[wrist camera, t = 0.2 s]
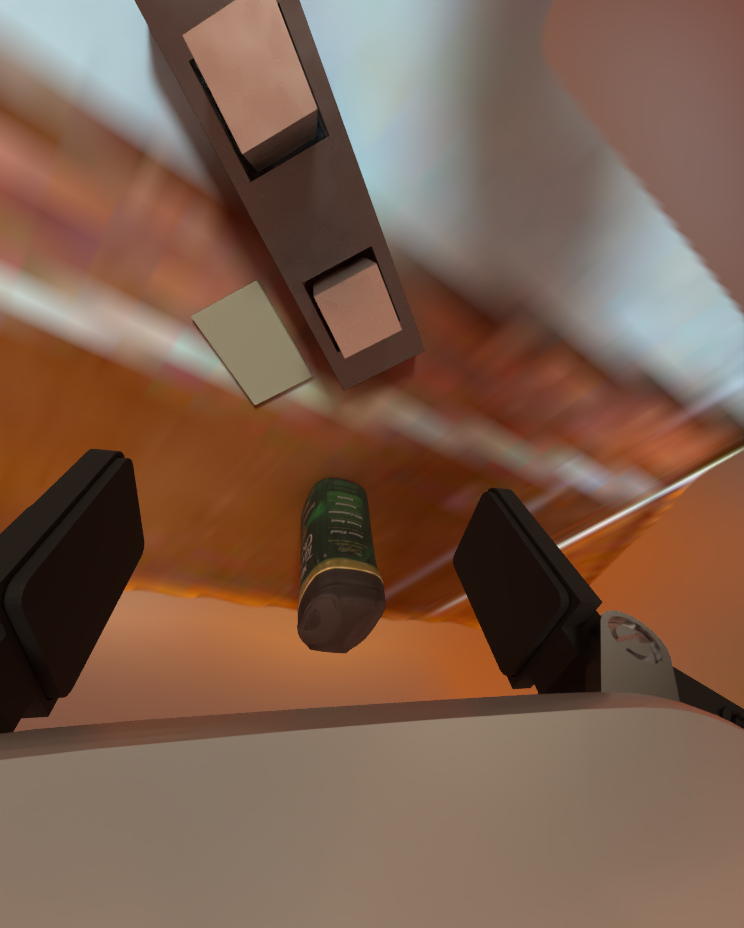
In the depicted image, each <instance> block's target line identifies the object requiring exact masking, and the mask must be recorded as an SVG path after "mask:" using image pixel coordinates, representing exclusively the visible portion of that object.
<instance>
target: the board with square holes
mask: <svg viewBox="0 0 744 928" xmlns="http://www.w3.org/2000/svg"><path fill="white" fill-rule="evenodd" d="M233 1H235V0H135V2H136V4H137V6H138V8H139V9H140V11H141V13H142V15H143V17H144V19H145V21H146V23H147V24H148V26H149V28H150V30H151V32H152V34H153V36H154V37H155V39H156V41H157V43H158V45H159V47H160V49H161V51H162V52H163V54H164V56H165V58H166V60H167V62H168V64H169V65H170V67H171V69H172V71H173V73H174V75H175V77H176V79H177V80H178V82H179V84H180V86H181V88H182V90H183V92H184V93H185V95H186V97H187V99H188V101H189V103H190V105H191V107H192V108H193V110H194V112H195V114H196V116H197V118H198V120H199V121H200V123H201V125H202V127H203V129H204V131H205V133H206V135H207V136H208V138H209V140H210V142H211V144H212V146H213V148H214V149H215V151H216V153H217V155H218V157H219V159H220V161H221V163H222V164H223V166H224V168H225V170H226V172H227V174H228V176H229V177H230V179H231V181H232V183H233V185H234V187H235V189H236V191H237V192H238V194H239V196H240V198H241V200H242V202H243V204H244V205H245V207H246V209H247V211H248V213H249V215H250V217H251V219H252V220H253V222H254V224H255V226H256V228H257V230H258V232H259V233H260V235H261V237H262V239H263V241H264V243H265V245H266V247H267V248H268V250H269V252H270V254H271V256H272V258H273V260H274V261H275V263H276V265H277V267H278V269H279V271H280V273H281V275H282V276H283V278H284V280H285V282H286V284H287V286H288V288H289V289H290V291H291V293H292V295H293V297H294V299H295V301H296V303H297V304H298V306H299V308H300V310H301V312H302V314H303V316H304V317H305V319H306V321H307V323H308V325H309V327H310V329H311V331H312V332H313V334H314V336H315V338H316V340H317V342H318V344H319V345H320V347H321V349H322V351H323V353H324V355H325V357H326V359H327V360H328V362H329V364H330V366H331V368H332V370H333V372H334V373H335V375H336V377H337V379H338V381H339V383H340V385H341V386H342V388H343V390H346V389H348V388H350V387H353V386H355V385H357V384H359V383H361V382H363V381H365V380H367V379H369V378H371V377H373V376H375V375H377V374H379V373H381V372H383V371H385V370H387V369H389V368H391V367H393V366H395V365H397V364H399V363H401V362H403V361H405V360H407V359H409V358H411V357H413V356H416V355H418V354H420V353H422V352H424V351H425V350H424V347H423V344H422V341H421V339H420V336H419V333H418V330H417V327H416V325H415V322H414V319H413V316H412V313H411V311H410V308H409V305H408V302H407V300H406V297H405V294H404V291H403V288H402V286H401V283H400V280H399V277H398V274H397V272H396V269H395V266H394V263H393V260H392V258H391V255H390V252H389V249H388V246H387V244H386V241H385V238H384V235H383V232H382V230H381V227H380V224H379V221H378V219H377V216H376V213H375V210H374V207H373V205H372V202H371V199H370V196H369V193H368V191H367V188H366V185H365V182H364V179H363V177H362V174H361V171H360V168H359V165H358V163H357V160H356V157H355V154H354V152H353V149H352V146H351V143H350V140H349V138H348V135H347V132H346V129H345V126H344V124H343V121H342V118H341V115H340V112H339V110H338V107H337V104H336V101H335V98H334V96H333V93H332V90H331V87H330V84H329V82H328V79H327V76H326V73H325V71H324V68H323V65H322V62H321V59H320V57H319V54H318V51H317V48H316V45H315V43H314V40H313V37H312V34H311V31H310V29H309V26H308V23H307V20H306V17H305V15H304V12H303V9H302V6H301V3H300V1H299V0H276V2H277V4H278V7H279V10H280V12H281V15H282V17H283V20H284V23H285V25H286V28H287V31H288V33H289V36H290V38H291V41H292V44H293V46H294V49H295V51H296V54H297V57H298V59H299V62H300V64H301V67H302V70H303V72H304V75H305V77H306V80H307V83H308V85H309V88H310V90H311V93H312V96H313V98H314V101H315V104H316V106H317V117H318V119H319V122H320V125H321V127H322V130H323V132H324V135H325V137H326V138H325V139H323V140H321V141H320V142H318V143H316V144H315V145H313V146H311V147H310V148H308V149H306V150H304V151H303V152H301V153H299V154H298V155H296V156H294V157H293V158H291V159H289V160H287V161H286V162H284V163H282V164H281V165H279V166H277V167H276V168H274V169H272V170H271V171H269V172H267V173H265V174H264V175H262V176H260V177H259V178H257V179H255V180H254V181H253V180H252V178H251V176H250V174H249V172H248V170H247V168H246V166H245V164H244V163H243V161H242V159H241V157H240V155H239V153H238V151H237V149H236V147H235V145H234V143H233V141H232V139H231V137H230V135H229V133H228V131H227V129H226V127H225V125H224V123H223V121H222V119H221V117H220V115H219V113H218V111H217V109H216V107H215V105H214V103H213V101H212V99H211V97H210V95H209V93H208V92H207V90H206V88H205V86H204V84H203V82H202V80H201V77H203V75H202V73H201V71H200V69H199V67H198V65H197V63H196V61H195V59H194V57H193V55H192V53H191V51H190V49H189V47H188V45H187V43H186V41H185V39H184V37H183V34H185V33H186V32H188V31H190V30H191V29H193V28H194V27H196V26H197V25H199V24H200V23H202V22H203V21H205V20H206V19H208V18H209V17H211V16H212V15H214V14H215V13H217V12H218V11H220V10H221V9H223V8H224V7H226V6H227V5H229V4H230V3H232V2H233ZM367 248H368V249H369V251H370V254H371V256H372V259H373V261H374V262H375V263H377V266H378V269H379V271H380V274H381V277H382V279H383V282H384V284H385V287H386V290H387V292H388V295H389V297H390V300H391V303H392V305H393V308H394V310H395V313H396V316H397V318H398V321H399V323H400V326H401V329H402V330H401V331H399V332H397V333H395V334H393V335H391V336H389V337H387V338H385V339H383V340H381V341H379V342H377V343H375V344H373V345H371V346H369V347H367V348H365V349H363V350H361V351H359V352H357V353H355V354H353V355H351V356H349V357H347V358H344V356H343V354H342V352H341V350H340V348H339V346H338V344H335V342H334V340H333V338H332V336H331V334H330V332H329V330H328V328H327V326H326V324H325V322H324V320H323V318H322V316H321V314H320V312H319V310H318V308H317V306H316V305H315V303H314V301H313V299H312V297H311V295H310V293H309V291H308V289H307V287H306V285H305V283H304V282H306V281H307V280H309V279H311V278H313V277H315V276H317V275H318V274H320V273H322V272H324V271H326V270H328V269H330V268H331V267H333V266H335V265H337V264H339V263H341V262H343V261H344V260H346V259H348V258H350V257H352V256H354V255H355V254H357V253H359V252H361V251H363V250H365V249H367Z"/></svg>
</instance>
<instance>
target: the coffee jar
mask: <svg viewBox="0 0 744 928" xmlns="http://www.w3.org/2000/svg"><path fill="white" fill-rule="evenodd" d="M384 610H385V594H384V585H383V580H382V577H381V575H380V573H379V571H378V568H377V565H376V560H375V554H374V547H373V540H372V533H371V526H370V517H369V508H368V501H367V495H366V492H365V490H364V489H363V488H362V487H361V486H359V485H357V484H355V483H353V482H350V481H347V480H343V479H336V478H329V479H324V480H321V481H319V482H318V483H317V484H316V485H315V486H314V487H313V489H312V490H311V492H310V494H309V496H308V498H307V500H306V502H305V505H304V508H303V512H302V517H301V574H300V589H299V600H298V625H297V629H298V634H299V637H300V638H301V639H302V641H303V642H304V643H305V644H306V645H307V646H308V647H309V649H311V650H316V651H322V652H333V653H347V652H348V651H349V650H350V649H352V648H353V647H355V646H357V645H358V644H359V643H361V641H363V640H364V639H365V638H366V637H367V636H368V635H369V633H370V632H371V631H372V629H373V628H374V627H375V625H376V624H377V622H378V621H379V619H380V618H381V616H382V614H383V612H384Z"/></svg>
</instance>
